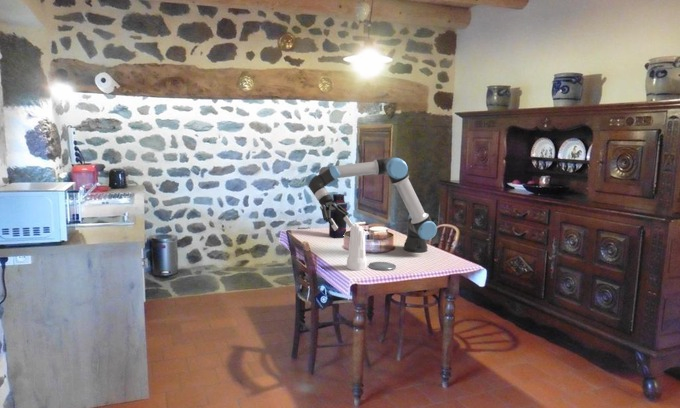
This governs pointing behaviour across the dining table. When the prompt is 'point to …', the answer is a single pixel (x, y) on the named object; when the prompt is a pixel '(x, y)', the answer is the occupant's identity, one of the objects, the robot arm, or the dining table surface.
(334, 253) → the dining table surface
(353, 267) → the decorative vase
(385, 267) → the disc
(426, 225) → the robot arm
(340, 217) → the black thermos flask
